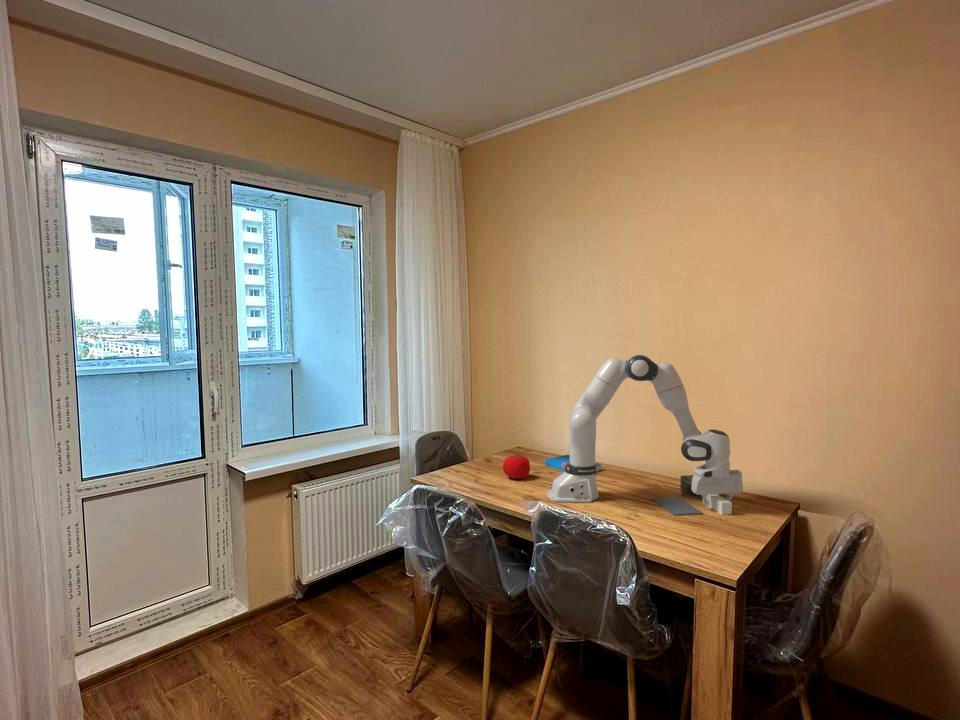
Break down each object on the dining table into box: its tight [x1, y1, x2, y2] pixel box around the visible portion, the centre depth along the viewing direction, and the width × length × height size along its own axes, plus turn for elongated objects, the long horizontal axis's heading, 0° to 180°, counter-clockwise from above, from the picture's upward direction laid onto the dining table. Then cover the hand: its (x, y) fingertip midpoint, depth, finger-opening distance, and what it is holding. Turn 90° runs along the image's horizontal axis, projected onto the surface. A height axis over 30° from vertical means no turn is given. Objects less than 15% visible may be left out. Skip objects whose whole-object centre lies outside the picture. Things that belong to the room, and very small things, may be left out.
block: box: [702, 494, 733, 516], centre depth 201 cm, size 4×14×5 cm, turn 5°
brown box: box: [679, 474, 696, 496], centre depth 214 cm, size 12×9×8 cm
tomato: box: [502, 454, 531, 480], centre depth 245 cm, size 12×13×12 cm
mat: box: [651, 496, 704, 516], centre depth 203 cm, size 12×19×1 cm, turn 6°
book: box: [544, 454, 602, 472], centre depth 263 cm, size 17×4×25 cm
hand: (716, 504), depth 201 cm, fingers open, 7 cm apart
